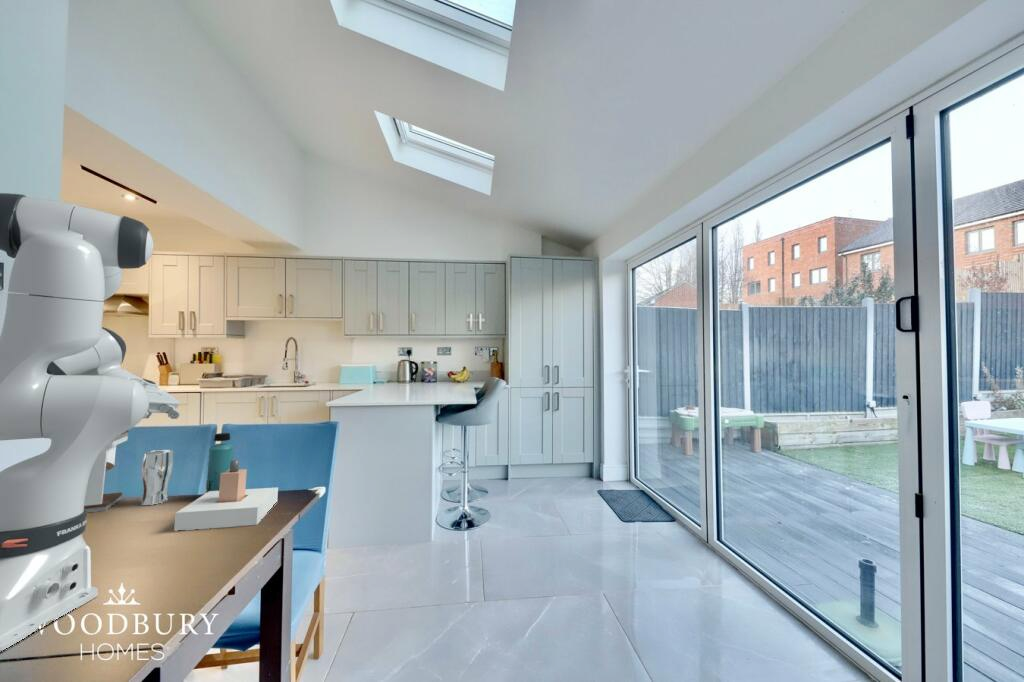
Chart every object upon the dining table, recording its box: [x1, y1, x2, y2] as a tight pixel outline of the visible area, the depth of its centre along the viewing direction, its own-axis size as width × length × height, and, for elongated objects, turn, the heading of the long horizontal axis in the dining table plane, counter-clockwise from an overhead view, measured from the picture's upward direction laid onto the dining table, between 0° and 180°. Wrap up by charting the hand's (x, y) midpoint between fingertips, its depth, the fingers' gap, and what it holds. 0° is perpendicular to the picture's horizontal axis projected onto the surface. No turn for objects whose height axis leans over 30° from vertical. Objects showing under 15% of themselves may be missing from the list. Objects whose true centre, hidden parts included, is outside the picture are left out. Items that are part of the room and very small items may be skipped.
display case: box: [84, 430, 129, 514], centre depth 113 cm, size 11×11×35 cm
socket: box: [173, 487, 279, 532], centre depth 108 cm, size 18×18×4 cm
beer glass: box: [139, 449, 174, 506], centre depth 117 cm, size 7×7×15 cm
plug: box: [218, 459, 248, 503], centre depth 108 cm, size 4×4×15 cm
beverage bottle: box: [205, 432, 234, 494], centre depth 123 cm, size 6×7×20 cm
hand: (163, 416), depth 101 cm, fingers open, 8 cm apart
